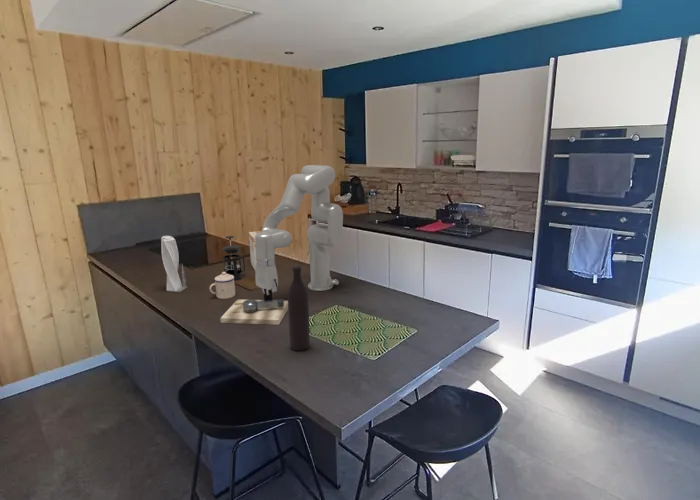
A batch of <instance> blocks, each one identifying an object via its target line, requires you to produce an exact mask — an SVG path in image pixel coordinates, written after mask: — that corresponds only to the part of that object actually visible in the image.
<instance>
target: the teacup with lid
mask: <svg viewBox="0 0 700 500" xmlns="http://www.w3.org/2000/svg"><path fill="white" fill-rule="evenodd" d="M235 284H236V283H235V281H234V276H233V275H229V274H226V271H225V272H224V271H222V272H221V274H219V275H217V276H215V277H214V283H211V284H210V285H209V291H210V292H211V294H213V295H216V298H218V299H221V300H226V299H231V298H233V297H235V296H236V285H235ZM214 286H215V291H213V289H212V288H213V287H214Z"/></svg>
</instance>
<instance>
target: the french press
mask: <svg viewBox="0 0 700 500" xmlns="http://www.w3.org/2000/svg"><path fill="white" fill-rule="evenodd" d="M225 238H226V239H229V245H227V246H223V247H222V248H221V250H222V251H223V252H225V253H226V255H224V256H222V263H223V264H222V265H223V272H226V274H229V275H233V276H234V282H236V280H237V281H240V280H242V279H243V274H242V273H243V272H245V271H246V269H245V266H246V265H245V256H244V255H243V254H241V255H240V254H238V253H239V252H240V248H241V247H240V246H239V245H232V241H231V240H232V239H233V238H235V236H233V235H228V236H226V237H225ZM241 259H242V261H241ZM237 261H238V262H239V263H238V262H237ZM225 262H227V265H226V264H225ZM241 262H242V264H241ZM239 279H240V280H239Z"/></svg>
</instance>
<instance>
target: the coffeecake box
mask: <svg viewBox="0 0 700 500" xmlns="http://www.w3.org/2000/svg"><path fill="white" fill-rule="evenodd" d="M261 231H262V230H261ZM261 231H260V230H258V231H248V238H249V254H250V265H251V266H252V268H253V270H254V271H255V269H256V264H257V256H256V242H255V236H256V234H258V233H261Z"/></svg>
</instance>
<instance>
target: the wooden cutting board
mask: <svg viewBox="0 0 700 500" xmlns="http://www.w3.org/2000/svg"><path fill="white" fill-rule="evenodd" d="M246 300H247V299H236V300H235V301H234V303H233V304H232V305H231V306H230V307H229V308H228V309H227V310H226V311H225V313H224V314H223V315H222V316H221V317H220V323H221V324H228V323H229V324H248V325H250V324H253V325H274V326H275V325H276V326H277V325H278V326H279V325H280V324H281V322H282V320H283V318H284V317H285V315H286V313H287V312H288V300H284V306H283V307H272V308H258V309H257V310H255V311H251V312H247V311H244V310H243V305H235V303H243V302H244V301H246ZM255 300H256V301H264V299H255Z"/></svg>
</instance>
